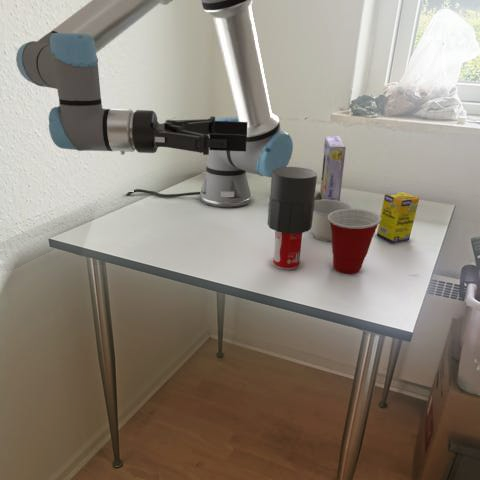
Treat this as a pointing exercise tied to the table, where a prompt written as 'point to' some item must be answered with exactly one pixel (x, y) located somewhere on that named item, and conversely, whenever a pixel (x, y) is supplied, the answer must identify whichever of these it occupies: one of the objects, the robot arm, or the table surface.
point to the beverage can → (287, 250)
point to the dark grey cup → (292, 199)
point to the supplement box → (397, 217)
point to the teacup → (325, 217)
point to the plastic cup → (351, 237)
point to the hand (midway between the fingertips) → (247, 135)
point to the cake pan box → (332, 168)
